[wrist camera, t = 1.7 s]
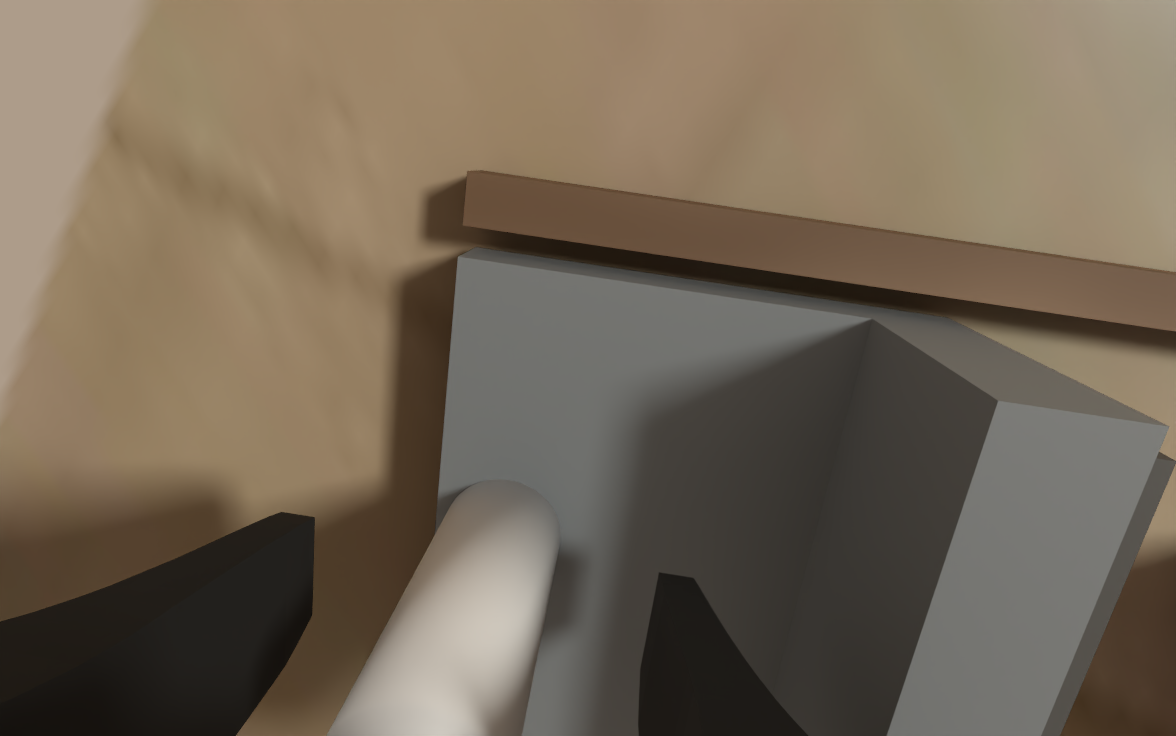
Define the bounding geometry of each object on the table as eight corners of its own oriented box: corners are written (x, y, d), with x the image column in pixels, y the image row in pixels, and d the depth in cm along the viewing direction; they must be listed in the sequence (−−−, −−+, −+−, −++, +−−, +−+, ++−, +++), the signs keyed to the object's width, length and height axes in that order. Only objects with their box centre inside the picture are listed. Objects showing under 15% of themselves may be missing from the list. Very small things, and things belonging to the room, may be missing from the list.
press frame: (1446, 892, 17) (1955, 1350, 11) (431, 723, 18) (310, 1057, 11) (1807, 364, 13) (2999, 569, 7) (480, 170, 14) (338, 176, 7)
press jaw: (838, 752, 17) (988, 1182, 10) (436, 685, 17) (293, 1059, 10) (972, 321, 14) (1337, 491, 7) (476, 247, 14) (309, 333, 7)
